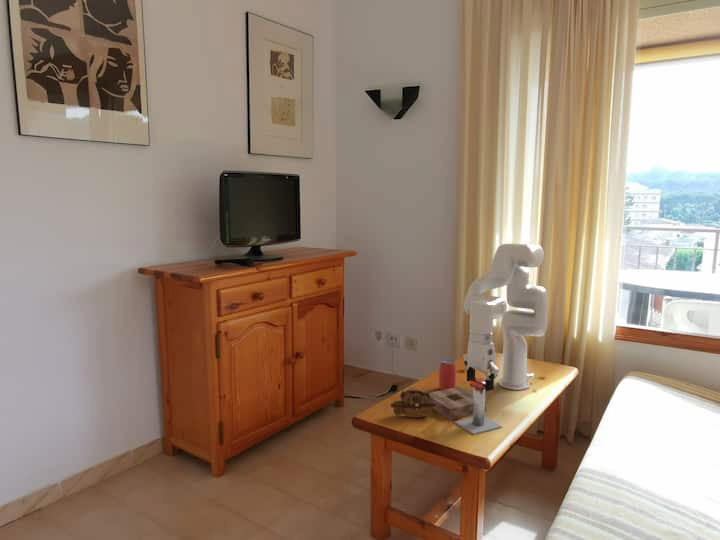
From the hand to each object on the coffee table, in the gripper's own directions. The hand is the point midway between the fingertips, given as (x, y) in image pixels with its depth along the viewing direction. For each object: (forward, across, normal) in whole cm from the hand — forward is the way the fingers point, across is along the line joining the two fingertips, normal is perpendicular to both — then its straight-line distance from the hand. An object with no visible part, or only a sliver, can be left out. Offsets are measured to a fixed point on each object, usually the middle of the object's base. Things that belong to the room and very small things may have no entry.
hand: (479, 385), depth 176 cm
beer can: (+15, +32, -9) cm, 36 cm away
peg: (+14, 0, +1) cm, 14 cm away
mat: (+14, 0, +1) cm, 14 cm away
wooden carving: (+14, +16, +17) cm, 27 cm away
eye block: (+14, +16, -1) cm, 21 cm away
